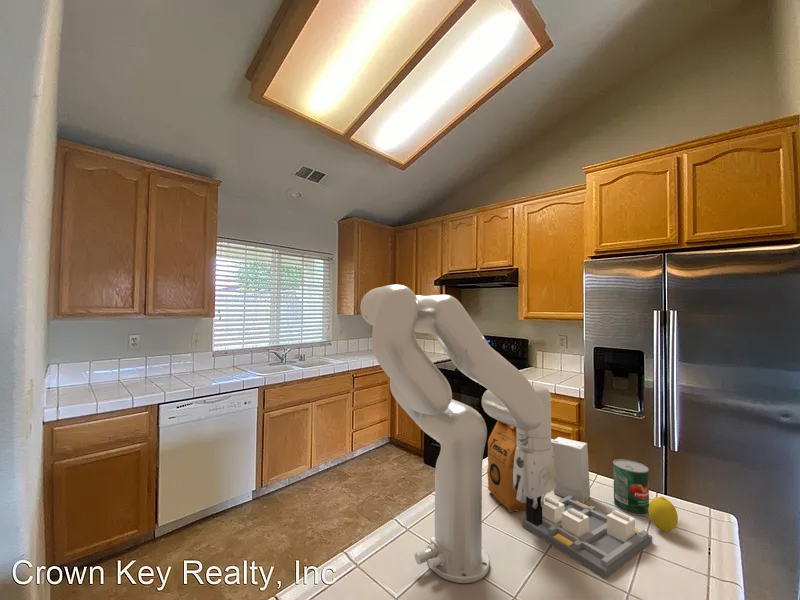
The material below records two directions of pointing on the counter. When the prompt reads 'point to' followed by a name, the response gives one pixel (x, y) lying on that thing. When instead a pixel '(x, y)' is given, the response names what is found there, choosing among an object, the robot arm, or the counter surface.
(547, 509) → the tab far
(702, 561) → the counter surface
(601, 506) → the counter surface
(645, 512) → the canned tomato
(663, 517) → the lemon
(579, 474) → the skincare box
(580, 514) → the tab middle
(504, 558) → the counter surface
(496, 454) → the coffee package
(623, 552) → the switch board
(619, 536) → the tab near
